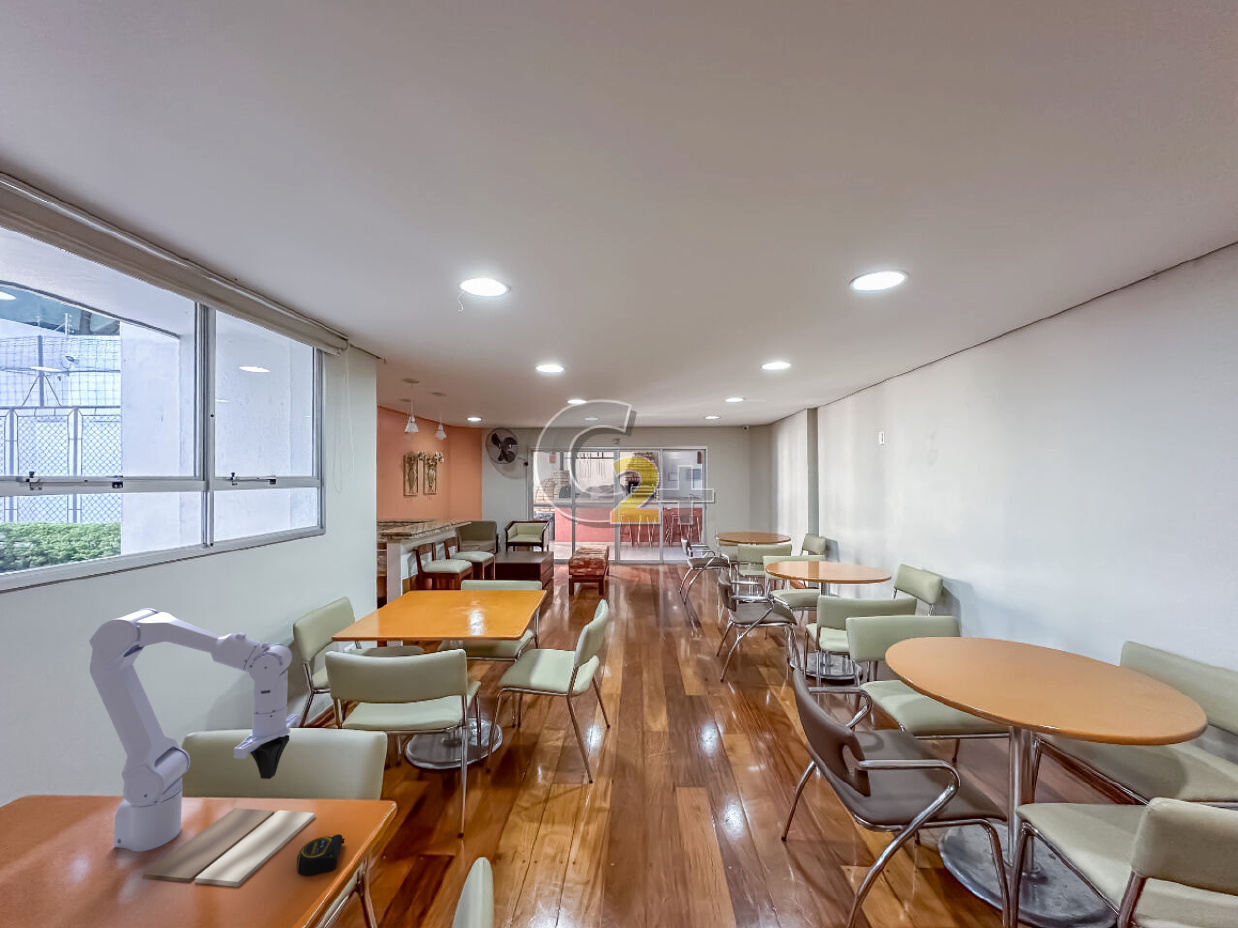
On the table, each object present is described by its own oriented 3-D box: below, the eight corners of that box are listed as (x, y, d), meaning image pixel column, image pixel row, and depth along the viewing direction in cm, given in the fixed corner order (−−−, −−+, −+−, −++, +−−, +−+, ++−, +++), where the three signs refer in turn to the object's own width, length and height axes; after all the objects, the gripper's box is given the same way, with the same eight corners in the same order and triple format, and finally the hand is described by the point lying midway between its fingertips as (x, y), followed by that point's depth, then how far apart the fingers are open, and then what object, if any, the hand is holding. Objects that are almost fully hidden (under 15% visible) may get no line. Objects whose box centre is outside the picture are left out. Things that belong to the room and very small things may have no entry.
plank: (192, 886, 85) (192, 877, 85) (276, 817, 102) (276, 809, 103) (237, 891, 84) (238, 881, 84) (314, 820, 102) (314, 812, 102)
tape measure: (335, 877, 87) (336, 855, 87) (290, 887, 85) (291, 864, 85) (344, 850, 94) (345, 830, 94) (302, 858, 91) (303, 837, 92)
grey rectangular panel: (142, 882, 86) (143, 873, 86) (234, 815, 104) (234, 807, 104) (189, 887, 85) (189, 878, 85) (274, 818, 103) (274, 810, 103)
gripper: (258, 725, 94) (256, 800, 93) (313, 694, 109) (312, 758, 108) (224, 723, 95) (221, 797, 94) (284, 693, 109) (282, 756, 109)
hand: (267, 776), depth 101 cm, fingers closed
